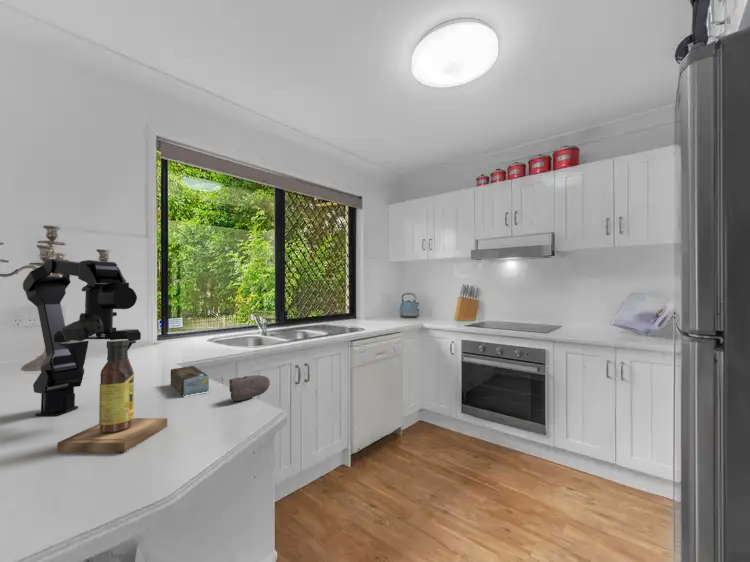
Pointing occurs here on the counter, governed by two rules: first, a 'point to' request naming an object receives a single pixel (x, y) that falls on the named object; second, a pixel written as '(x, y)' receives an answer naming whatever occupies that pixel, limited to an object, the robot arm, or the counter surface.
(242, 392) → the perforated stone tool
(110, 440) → the podium
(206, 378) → the beverage carton
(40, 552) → the counter surface
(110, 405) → the sauce bottle
